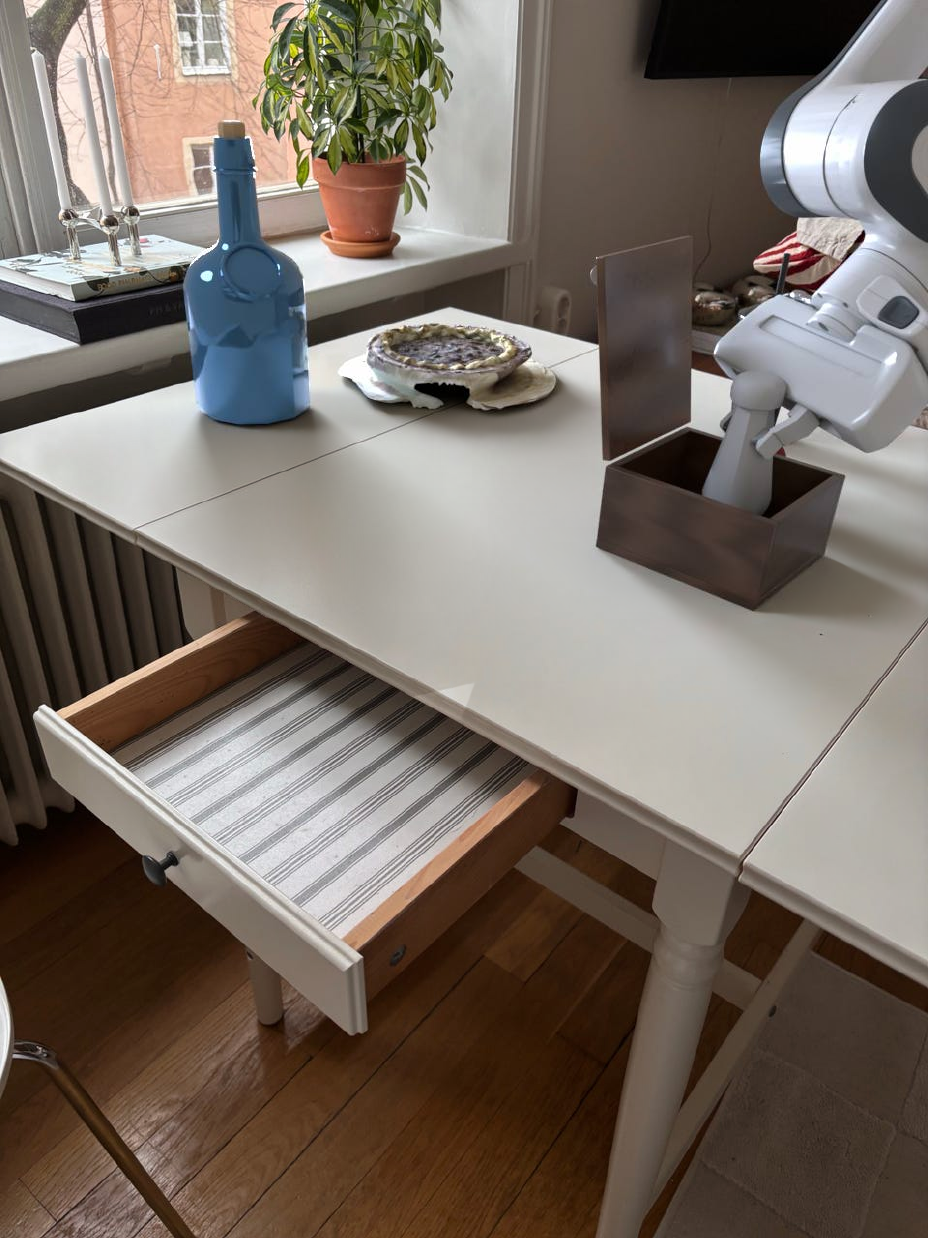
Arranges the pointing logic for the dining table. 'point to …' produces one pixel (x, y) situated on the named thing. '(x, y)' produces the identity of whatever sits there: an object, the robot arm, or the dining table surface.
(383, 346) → the pie
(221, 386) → the wine bottle
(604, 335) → the chest lid
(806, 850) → the dining table surface
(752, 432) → the salt shaker
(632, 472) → the chest
